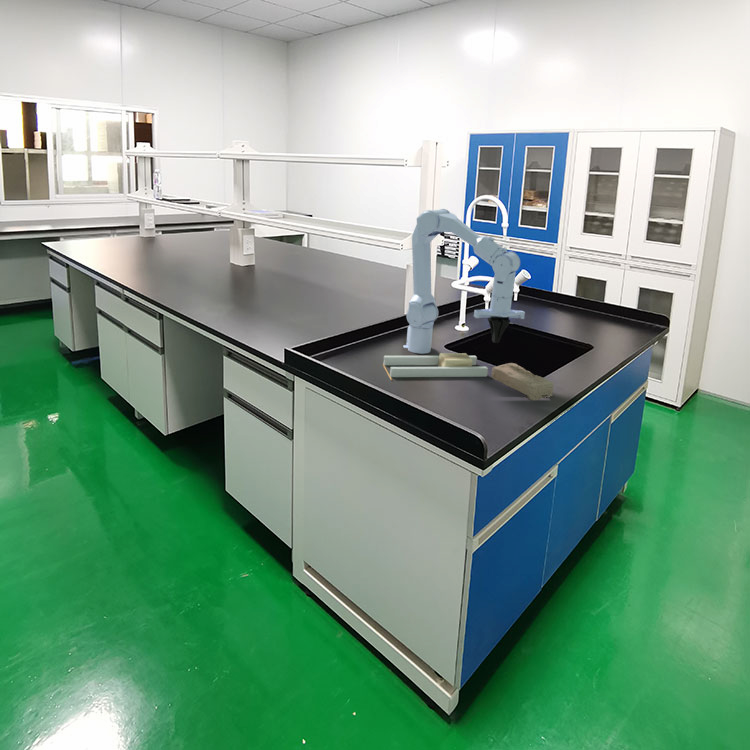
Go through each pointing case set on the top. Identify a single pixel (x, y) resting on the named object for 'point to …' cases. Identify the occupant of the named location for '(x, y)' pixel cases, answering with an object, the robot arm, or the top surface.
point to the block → (454, 360)
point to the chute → (429, 370)
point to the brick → (523, 381)
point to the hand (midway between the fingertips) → (495, 342)
